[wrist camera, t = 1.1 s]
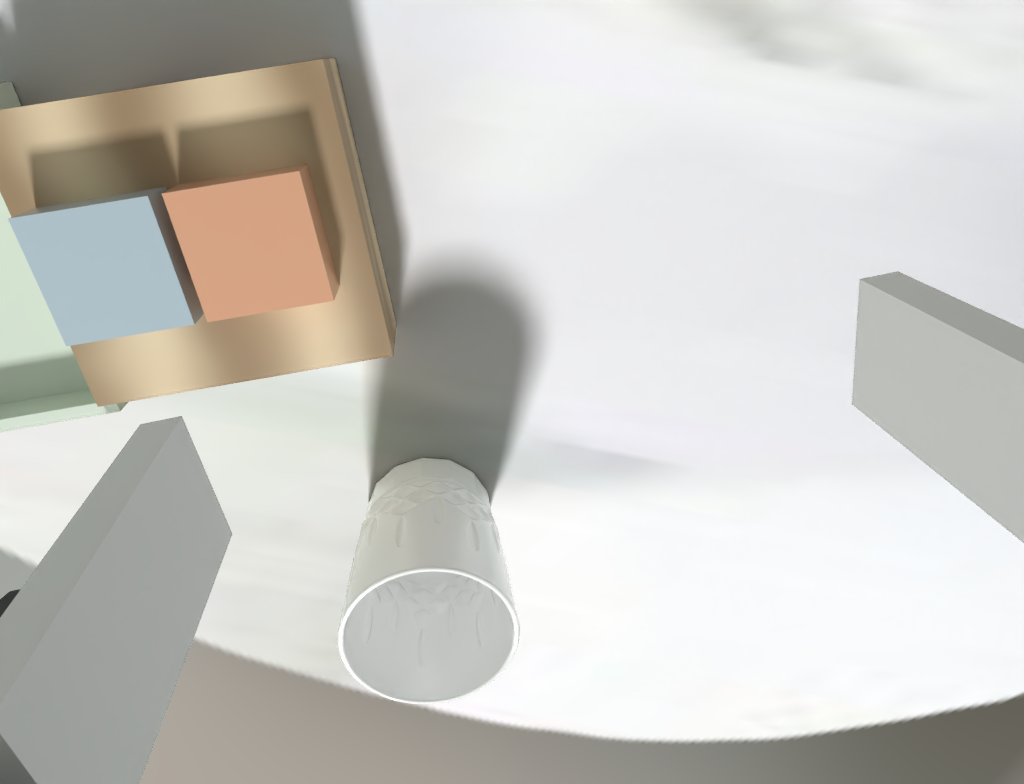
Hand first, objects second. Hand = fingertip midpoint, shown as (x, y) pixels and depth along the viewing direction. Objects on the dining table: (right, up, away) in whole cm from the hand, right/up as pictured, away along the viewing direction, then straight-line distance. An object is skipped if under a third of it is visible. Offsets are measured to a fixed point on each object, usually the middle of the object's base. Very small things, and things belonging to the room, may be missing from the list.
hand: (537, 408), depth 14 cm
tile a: (-11, +7, +15) cm, 19 cm away
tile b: (-16, +6, +15) cm, 22 cm away
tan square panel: (-13, +8, +18) cm, 24 cm away
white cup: (-5, -6, +26) cm, 27 cm away
